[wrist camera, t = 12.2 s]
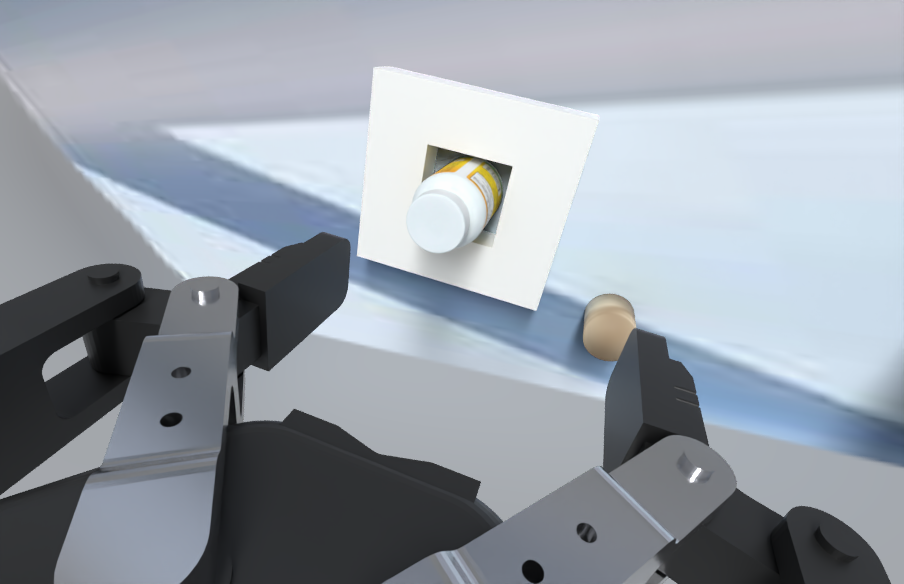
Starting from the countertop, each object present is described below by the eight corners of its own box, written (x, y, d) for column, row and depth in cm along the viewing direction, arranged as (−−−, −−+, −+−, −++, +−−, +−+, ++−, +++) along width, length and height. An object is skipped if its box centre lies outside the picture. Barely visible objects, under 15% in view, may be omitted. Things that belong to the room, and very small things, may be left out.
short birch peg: (642, 302, 38) (646, 327, 34) (623, 340, 40) (625, 367, 36) (594, 287, 38) (593, 310, 35) (578, 326, 40) (575, 351, 37)
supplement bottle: (514, 169, 36) (488, 202, 28) (491, 229, 38) (462, 276, 30) (450, 144, 36) (407, 170, 28) (432, 205, 39) (388, 245, 31)
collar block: (599, 115, 32) (599, 120, 30) (540, 294, 40) (536, 310, 37) (390, 66, 35) (373, 67, 32) (371, 243, 42) (357, 255, 40)
